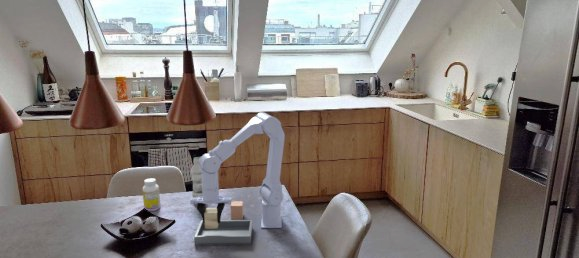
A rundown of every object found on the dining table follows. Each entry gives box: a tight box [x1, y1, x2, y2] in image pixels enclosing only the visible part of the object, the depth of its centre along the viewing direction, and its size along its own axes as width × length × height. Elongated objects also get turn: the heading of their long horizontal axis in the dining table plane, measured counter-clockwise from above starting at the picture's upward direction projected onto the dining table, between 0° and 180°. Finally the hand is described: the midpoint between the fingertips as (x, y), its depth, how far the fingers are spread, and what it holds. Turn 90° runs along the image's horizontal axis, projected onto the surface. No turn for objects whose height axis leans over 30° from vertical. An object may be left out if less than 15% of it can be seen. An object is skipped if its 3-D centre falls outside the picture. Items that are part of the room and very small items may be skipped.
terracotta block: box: [230, 200, 244, 220], centre depth 164 cm, size 4×4×6 cm
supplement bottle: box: [142, 177, 161, 212], centre depth 171 cm, size 7×7×13 cm
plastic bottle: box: [190, 156, 203, 198], centre depth 178 cm, size 6×7×20 cm
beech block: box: [204, 207, 219, 229], centre depth 148 cm, size 4×4×6 cm
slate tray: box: [193, 219, 254, 247], centre depth 149 cm, size 13×20×4 cm, turn 92°
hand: (211, 222), depth 148 cm, fingers closed on beech block, 4 cm apart
